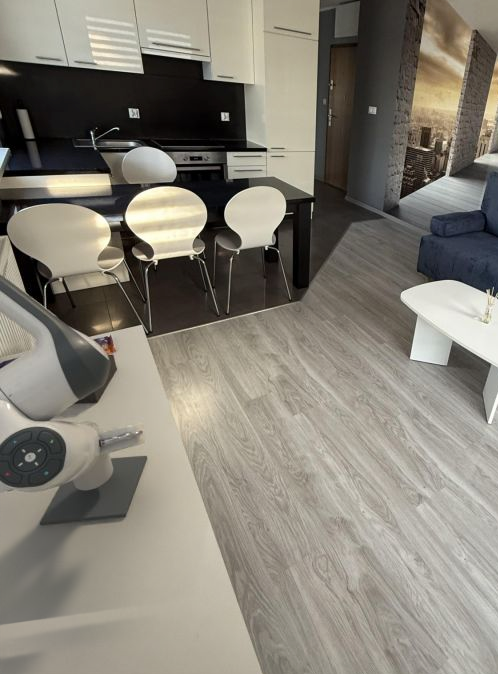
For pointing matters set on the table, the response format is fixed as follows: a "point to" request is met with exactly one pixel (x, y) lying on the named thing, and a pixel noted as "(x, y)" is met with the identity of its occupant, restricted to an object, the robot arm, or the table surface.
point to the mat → (97, 495)
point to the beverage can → (95, 468)
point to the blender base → (98, 393)
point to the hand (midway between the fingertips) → (86, 449)
